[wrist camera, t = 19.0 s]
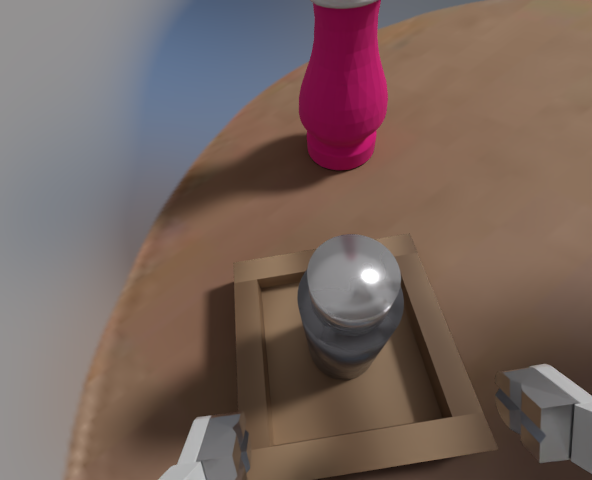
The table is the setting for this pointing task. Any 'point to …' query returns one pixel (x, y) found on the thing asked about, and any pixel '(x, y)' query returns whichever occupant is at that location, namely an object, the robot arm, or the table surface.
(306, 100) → the pepper mill
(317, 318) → the round-tipped peg
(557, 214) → the table surface
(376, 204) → the table surface
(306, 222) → the table surface
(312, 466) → the tray
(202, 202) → the table surface
